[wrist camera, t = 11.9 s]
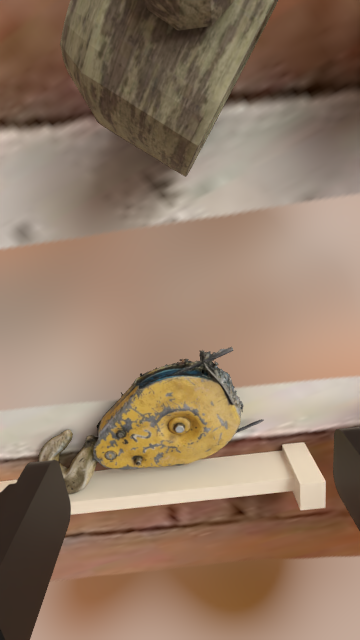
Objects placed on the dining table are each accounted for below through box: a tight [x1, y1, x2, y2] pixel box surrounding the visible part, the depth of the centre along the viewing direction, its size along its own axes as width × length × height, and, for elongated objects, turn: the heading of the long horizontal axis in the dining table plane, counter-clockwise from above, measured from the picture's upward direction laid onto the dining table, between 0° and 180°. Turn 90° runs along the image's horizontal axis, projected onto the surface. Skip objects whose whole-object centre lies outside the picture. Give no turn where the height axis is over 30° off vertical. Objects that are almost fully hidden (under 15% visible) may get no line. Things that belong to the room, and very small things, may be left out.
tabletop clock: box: [60, 0, 278, 177], centre depth 21 cm, size 14×9×25 cm, turn 151°
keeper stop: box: [0, 442, 326, 515], centre depth 44 cm, size 48×4×7 cm, turn 97°
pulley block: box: [37, 347, 263, 494], centre depth 42 cm, size 14×6×30 cm
